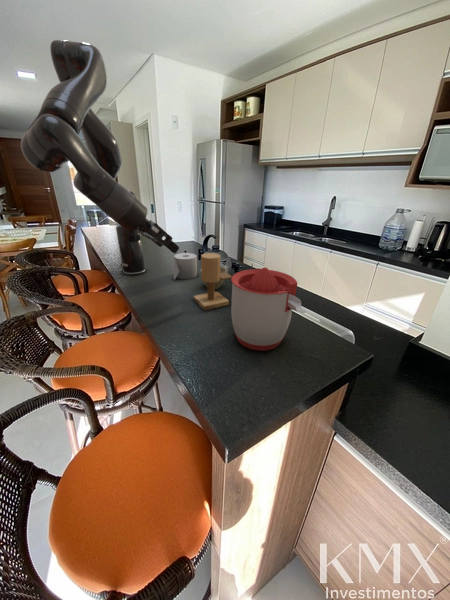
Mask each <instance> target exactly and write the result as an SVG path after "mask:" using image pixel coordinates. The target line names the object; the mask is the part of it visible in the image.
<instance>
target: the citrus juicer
mask: <svg viewBox="0 0 450 600" xmlns="http://www.w3.org/2000/svg"><path fill="white" fill-rule="evenodd" d="M231 276H232V278H231V279H230V281H231V283H232V284H231V309H230V311H231V312H230V313H231V323H232V327H233V332H234V336H235V337H236V340H237V341H238V342H239V344H240V345H241V346H243V347H245V348H247V349H249V350H254V351H259V352H260V351H261V352H262V351H263V352H264V351H265V352H266V351H269V350H273V349H275V348H277V347H278V346H279V345H280V344H281V342H282V341H283V339H284V338H285V335H286V333H287V331H288V329H289V326H290V323H291V319H292V313H293V311H295V312H299V311H301V309H302V301H301V299H300V298H299V297H297V296H296V295H297V288H298V281H297V279H295V277H293V276H291V275H289V274H288V273H285V272H281V271H278V270H273V269H269V268H268V267H263V268H255V269H253V268H252V269H245V270H240V271H238V272H235V273H234V274H233V275H231Z"/></svg>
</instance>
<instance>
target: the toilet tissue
mask: <svg viewBox="0 0 450 600" xmlns="http://www.w3.org/2000/svg"><path fill="white" fill-rule="evenodd" d="M197 259H198V258H197V254H195V253H191V252H181V253H177V254H176V253H175V255H174V256H173V280H174V281H175V280H176V279H181V280H190V279H194V278H196V277H197V276H198V260H197Z"/></svg>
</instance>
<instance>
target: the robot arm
mask: <svg viewBox="0 0 450 600" xmlns="http://www.w3.org/2000/svg"><path fill="white" fill-rule="evenodd" d="M49 49H50V50H49V51H50V56H51V61H52V64H53V68H54V71H55V73H56V76H57V79H58V81H59V83H57V84H55V85H54V86H53V87H51V88H50V89H49V91H48V92H47V94H46V96H45V98H44V100H43V101H42V103H41V106H40V110H39V112H38V113H37V116H36V117H35V119H33V121H32V123H31V124H30V125H29V126H28V127H27V129H26V131H25V132H24V133H23V135H22V136H21V140H20V149H21V152H22V154H23V156H24V158H25V160H26V161H27V162H28V163H29V164H30V165H31V166H32V167H34V168H35V169H37V170H39V171H41V172H44V173H55V172H57V171H59V170H61V169H62V168H63V167H64V166H65V165H67V163H68V162H70V164H71V165H72V166H73V168H74V169H75V171H76V173H75V175H74V177H73V180H72V183H73V186H74V188H75V189H76V190H77V191H78V192H79V193H81V194H82V195H83V196H84V197H86V198H87V199H88V200H90V201H91V202H92V203H93V204H95V205H96V206H97V207H98V208H99V209H100V210H101V211H102V212H103V213H104V214H105V215H106V216H108V217H109V218H110V219H111V220H112V221H114V222H115V223H116V224H118V225H117V226H116V227H115V231H116V237H117V243H118V248H119V255H120V266H121V267H122V273H123V274H124V275H128V276H136V275H141V274H143V273H145V272H146V267H145V260H144V258H145V257H144V251H143V245H142V244H143V243H142V236H143V237H145V238H147V239H148V240H150V241H152V242H153V243H154V244H155V245H157V247H159V248H162V247H166V249H168V250H169V251H170V252H171V253H172V254H176V253H178V251H179V250H180V246H179V245H178V244H176V242H175V241H173V237H172V235H170V234H169V233H167V232H166V231H165V230H164V229H163V228H162V227H161V226H159V224H158V223H156V222H154V221H153V220H152V219H150V220H149V219H147V216H148V208H147V207H146V206H145V205H144V204H143V203H142V202H141V201H140V200H139V199H138V198H137V195H136V193H135V192H134V191H132V190H128V189H127V188H126V187H125V186H123V185H122V184H120V183H119V182H118V181H117V180H116V179H117V176H118V174H119V173H120V170H121V168H122V163H123V160H122V155H121V151H120V148H119V144H118V141H117V138H116V136H115V135H114V134H113V132H112V131H111V130H110V129H109V127H108V126H107V125H106V124H105V123H104V122H103V120H101V118H100V117H99V116H98V115H97V114H96V113H95V112H94V110H93V109H92V107H93V106H95V104H96V103H97V102H98V101H99V99H100V98H101V97H102V96H103V94H104V93H105V91H106V88H107V86H108V85H107V84H108V75H107V67H106V64H105V61H104V58H103V55H102V53H101V52H100V50H99V49H98V48H97V47H96V46H95V45H93V44H90V43H87V42H86V43H85V42H78V41H71V40H64V39H63V40H61V39H54V40H52V41H51V42H50V47H49ZM80 133H81V134H82V137H83V139H81V136H79V135H80ZM83 140H84V141H83ZM141 235H142V236H141ZM163 238H164V239H163Z"/></svg>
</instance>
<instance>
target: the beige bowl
mask: <svg viewBox="0 0 450 600" xmlns="http://www.w3.org/2000/svg"><path fill="white" fill-rule="evenodd" d="M224 272H226V273H227V272H228V271H227V268H226V267H224V266H221V265H220V273H224ZM200 275H201V277H202V273H201V268H200ZM224 281H225V280H221V279H220V281H218V282H215V290H218V289H219V288H220V287H221V286H222V285H223V283H224ZM203 284H204V285H205V286H206V287H207V282H204V281H203Z"/></svg>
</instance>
